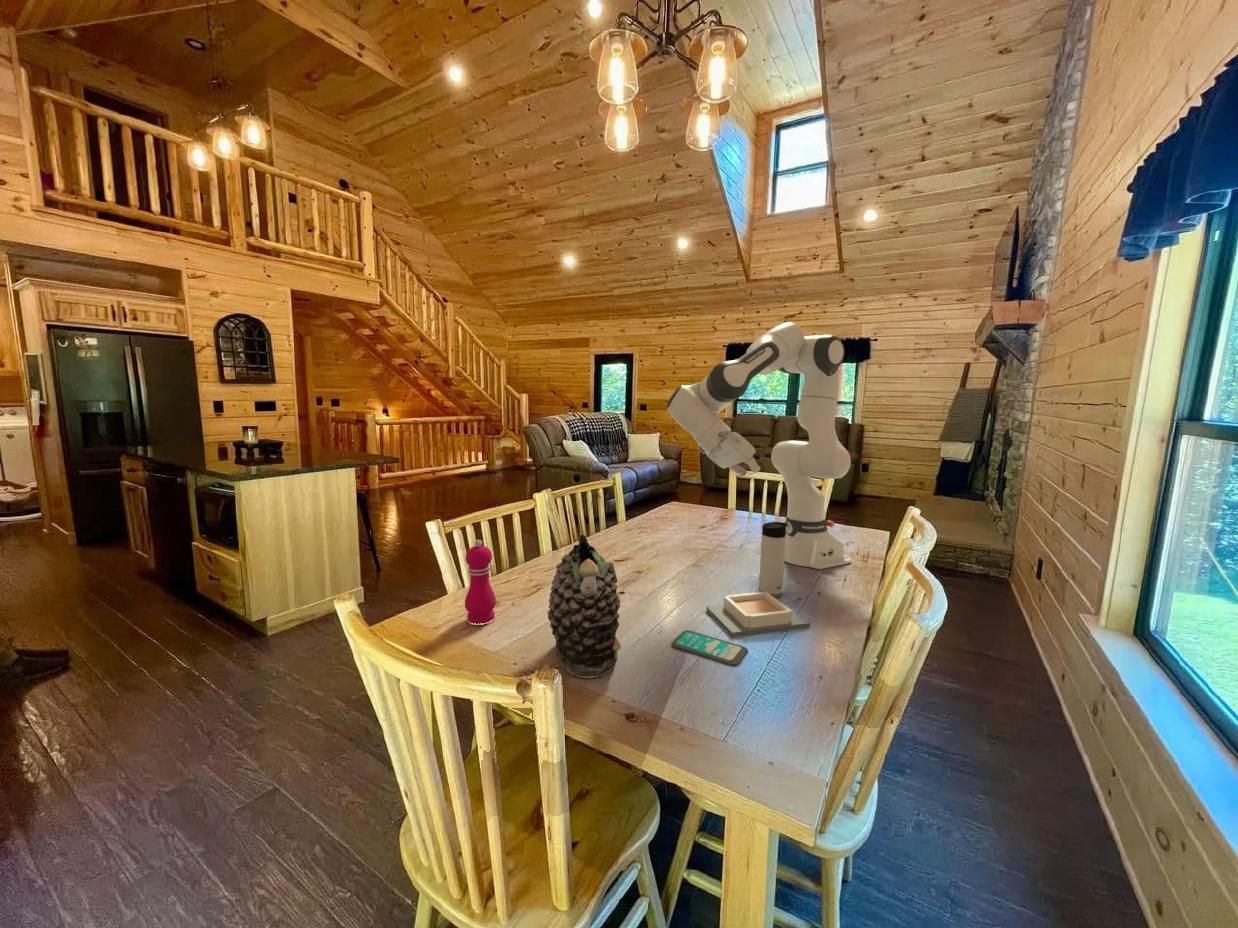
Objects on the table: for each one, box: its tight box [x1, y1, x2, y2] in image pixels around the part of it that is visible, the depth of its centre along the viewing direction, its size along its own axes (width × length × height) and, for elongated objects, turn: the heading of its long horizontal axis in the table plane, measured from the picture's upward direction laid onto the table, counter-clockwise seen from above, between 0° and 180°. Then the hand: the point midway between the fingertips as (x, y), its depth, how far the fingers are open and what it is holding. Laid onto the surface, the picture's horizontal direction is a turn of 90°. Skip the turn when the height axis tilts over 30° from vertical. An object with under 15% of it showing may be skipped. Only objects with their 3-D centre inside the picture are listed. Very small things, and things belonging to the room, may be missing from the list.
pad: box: [735, 599, 778, 615], centre depth 120 cm, size 9×9×2 cm
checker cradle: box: [705, 591, 811, 639], centre depth 120 cm, size 20×14×4 cm
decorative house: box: [547, 534, 622, 679], centre depth 101 cm, size 21×15×25 cm
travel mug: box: [758, 521, 788, 599], centre depth 135 cm, size 6×7×20 cm
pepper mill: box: [464, 539, 497, 624], centre depth 117 cm, size 7×7×20 cm
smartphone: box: [671, 630, 749, 667], centre depth 107 cm, size 9×1×15 cm
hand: (751, 473), depth 132 cm, fingers open, 8 cm apart
